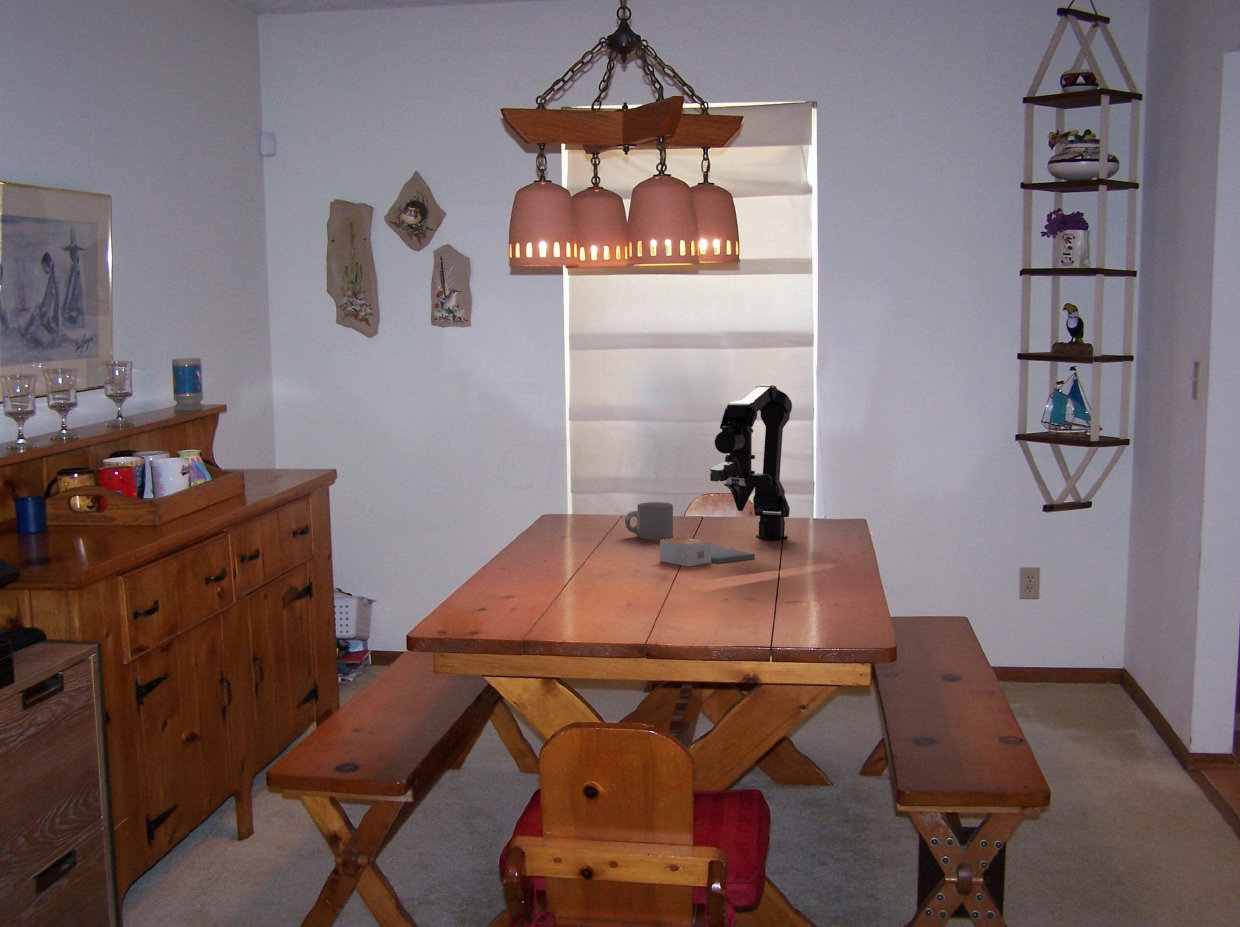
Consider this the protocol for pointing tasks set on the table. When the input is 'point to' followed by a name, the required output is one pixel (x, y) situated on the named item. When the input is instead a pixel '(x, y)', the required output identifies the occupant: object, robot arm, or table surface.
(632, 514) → the coffee mug
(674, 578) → the table surface
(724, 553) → the mat
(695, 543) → the small box
